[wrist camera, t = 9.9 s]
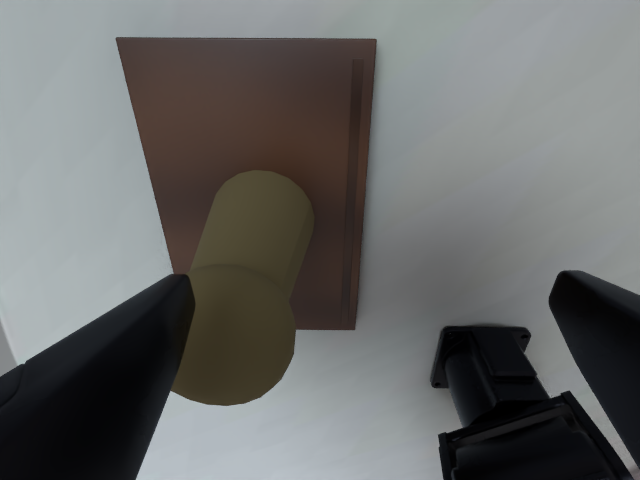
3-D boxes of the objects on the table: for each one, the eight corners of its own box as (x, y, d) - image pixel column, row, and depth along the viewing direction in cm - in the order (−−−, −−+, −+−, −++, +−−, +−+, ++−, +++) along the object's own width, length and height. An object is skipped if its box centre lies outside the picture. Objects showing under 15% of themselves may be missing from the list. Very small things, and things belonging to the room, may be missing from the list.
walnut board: (353, 316, 26) (355, 331, 25) (193, 314, 26) (186, 329, 25) (373, 38, 17) (377, 38, 16) (130, 37, 17) (113, 37, 16)
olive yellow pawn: (223, 264, 22) (146, 434, 13) (200, 173, 19) (77, 305, 10) (318, 260, 22) (312, 430, 12) (310, 166, 19) (295, 296, 9)
